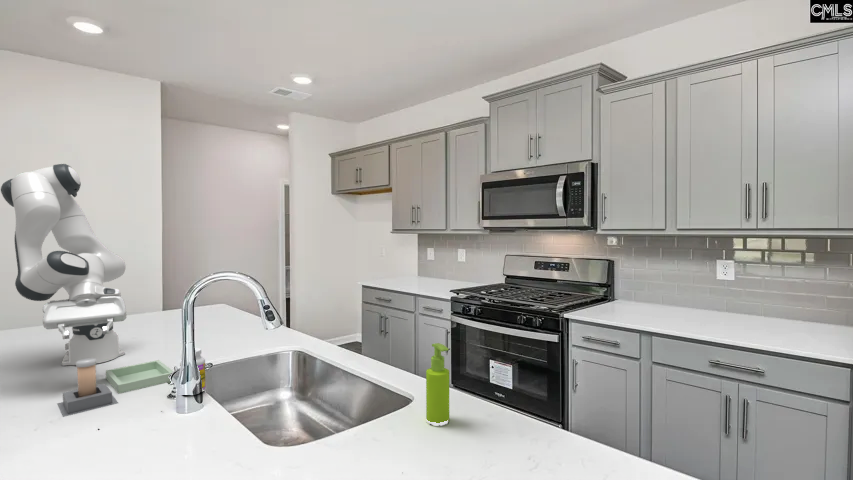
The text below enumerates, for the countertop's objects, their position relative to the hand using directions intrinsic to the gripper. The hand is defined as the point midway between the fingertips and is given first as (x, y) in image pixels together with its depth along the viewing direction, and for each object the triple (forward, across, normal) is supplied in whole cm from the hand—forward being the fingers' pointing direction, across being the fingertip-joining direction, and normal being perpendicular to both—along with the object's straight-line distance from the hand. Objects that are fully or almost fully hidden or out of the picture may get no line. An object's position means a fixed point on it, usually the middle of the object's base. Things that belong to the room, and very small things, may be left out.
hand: (86, 335), depth 132 cm
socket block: (+21, 0, +4) cm, 21 cm away
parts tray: (+11, +13, +13) cm, 22 cm away
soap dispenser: (+66, +74, -41) cm, 108 cm away
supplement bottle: (+25, +26, 0) cm, 36 cm away
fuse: (+20, 0, +3) cm, 21 cm away
